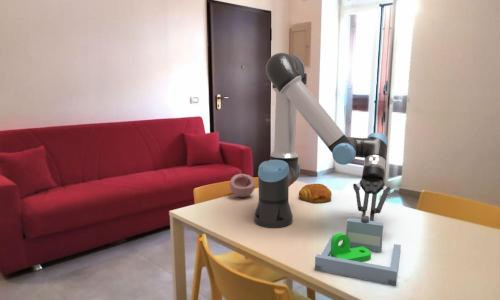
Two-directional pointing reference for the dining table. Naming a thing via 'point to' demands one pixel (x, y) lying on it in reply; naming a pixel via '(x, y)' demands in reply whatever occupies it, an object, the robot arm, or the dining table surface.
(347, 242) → the mechanical part
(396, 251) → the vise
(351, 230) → the slide jaw
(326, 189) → the croissant
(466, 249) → the dining table surface
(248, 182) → the pink round pot
